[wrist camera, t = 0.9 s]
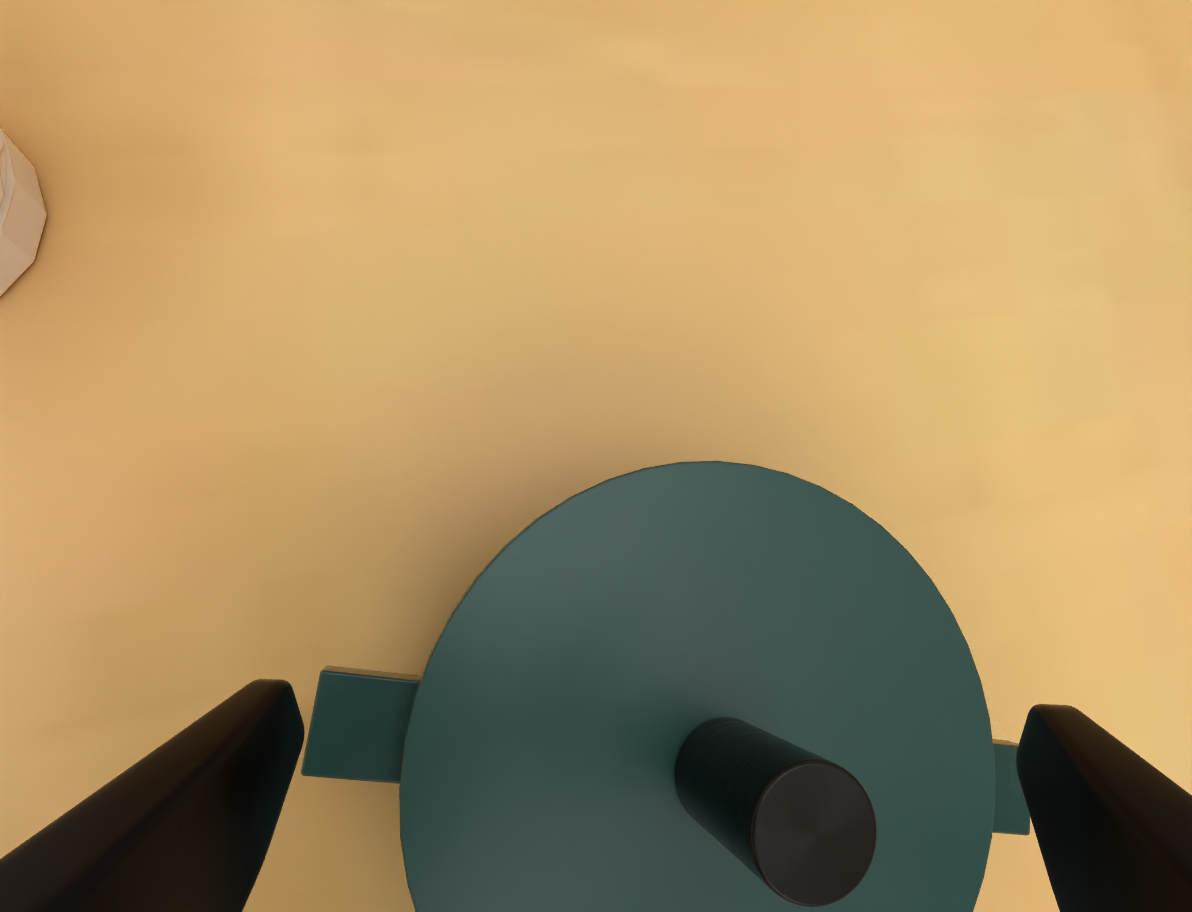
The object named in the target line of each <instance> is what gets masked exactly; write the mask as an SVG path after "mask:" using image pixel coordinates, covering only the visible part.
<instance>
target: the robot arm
mask: <svg viewBox="0 0 1192 912" xmlns="http://www.w3.org/2000/svg"><path fill="white" fill-rule="evenodd" d="M303 741H304V724H303V721H302V717H301V714H300V711H299V708H298V704H297V701H296V698H295V694H294V691H293V688H292V686H291V684H290V683H289V682H288V681H285V680H275V679H258V680H255V681H253V682H251V683H249V684H248V685H246V686H245V687H243V688H242V689H241V690H239V691H238V692H236V693H235V694H234V695H232V696H231V697H229V698H228V699H226V700H225V701H224V702H222V703H221V704H219V705H218V706H217V707H215V708H214V709H212V710H211V711H209V712H208V713H207V714H205V715H204V716H202V717H201V718H200V719H198V720H197V721H195V722H194V723H192V724H191V725H190V726H188V727H187V728H185V729H184V730H183V731H181V732H180V733H178V734H177V735H175V736H174V737H173V738H171V739H170V740H168V741H167V742H166V743H164V744H163V745H161V746H160V747H158V748H157V749H156V750H154V751H153V752H151V753H150V754H149V755H147V756H146V757H144V758H143V759H141V760H140V761H139V762H137V763H136V764H134V765H133V766H132V767H130V768H129V769H127V770H126V771H124V772H123V773H122V774H120V775H119V776H117V777H116V778H115V779H113V780H112V781H110V782H109V783H107V784H106V785H105V786H103V787H102V788H100V789H99V790H98V791H96V792H95V793H93V794H92V795H90V796H89V797H88V798H86V799H85V800H83V801H82V802H81V803H79V804H78V805H76V806H75V807H73V808H72V809H71V810H69V811H68V812H66V813H65V814H64V815H62V816H61V817H59V818H58V819H56V820H55V821H54V822H52V823H51V824H49V825H48V826H47V827H45V828H44V829H42V830H41V831H39V832H38V833H37V834H35V835H34V836H32V837H31V838H30V839H28V840H27V841H25V842H24V843H22V844H21V845H20V846H18V847H17V848H15V849H14V850H13V851H11V852H10V853H8V854H7V855H5V856H4V857H3V858H1V859H0V912H242V910H243V908H244V906H245V904H246V901H247V899H248V897H249V895H250V893H251V890H252V888H253V886H254V884H255V881H256V879H257V876H258V874H259V872H260V869H261V867H262V864H263V862H264V859H265V856H266V854H267V851H268V848H269V845H270V842H271V839H272V836H273V833H274V830H275V827H276V824H277V821H278V818H279V815H280V812H281V809H282V806H283V803H284V800H285V797H286V794H287V791H288V788H289V785H290V782H291V779H292V776H293V773H294V770H295V767H296V764H297V761H298V758H299V755H300V752H301V749H302V745H303ZM1016 768H1017V773H1018V777H1019V780H1020V784H1021V787H1022V790H1023V794H1024V797H1025V800H1026V803H1027V807H1028V810H1029V813H1030V817H1031V820H1032V823H1033V827H1034V830H1035V833H1036V837H1037V840H1038V843H1039V846H1040V850H1041V853H1042V856H1043V860H1044V863H1045V866H1046V870H1047V873H1048V876H1049V879H1050V883H1051V886H1052V889H1053V892H1054V895H1055V898H1056V901H1057V904H1058V907H1059V910H1060V912H1192V795H1190V794H1189V793H1188V792H1186V791H1185V790H1184V789H1182V788H1181V787H1180V786H1178V785H1177V784H1176V783H1174V782H1173V781H1172V780H1171V779H1169V778H1168V777H1167V776H1165V775H1164V774H1163V773H1161V772H1160V771H1159V770H1157V769H1156V768H1155V767H1153V766H1152V765H1151V764H1149V763H1148V762H1147V761H1145V760H1144V759H1143V758H1141V757H1140V756H1139V755H1137V754H1136V753H1135V752H1134V751H1132V750H1131V749H1130V748H1128V747H1127V746H1126V745H1124V744H1123V743H1122V742H1120V741H1119V740H1118V739H1116V738H1115V737H1114V736H1112V735H1111V734H1110V733H1108V732H1107V731H1106V730H1104V729H1103V728H1102V727H1100V726H1099V725H1098V724H1097V723H1095V722H1094V721H1093V720H1091V719H1090V718H1089V717H1087V716H1086V715H1085V714H1083V713H1082V712H1081V711H1079V710H1078V709H1076V708H1074V707H1072V706H1068V705H1049V704H1038V705H1035V706H1033V707H1032V708H1031V709H1030V711H1029V713H1028V716H1027V720H1026V723H1025V726H1024V730H1023V733H1022V736H1021V739H1020V743H1019V746H1018V749H1017V754H1016Z"/></svg>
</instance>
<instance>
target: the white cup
mask: <svg viewBox="0 0 1192 912" xmlns="http://www.w3.org/2000/svg"><path fill="white" fill-rule="evenodd" d="M46 217H47V213H46V209H45V205H44V202H43V198H42V194H41V190H40V187H39V183H38V179H37V175H36V172H35V169H34V167H33V166H32V164H31V163H30V162H29V161H28V160H27V158H26V157H25V156H24V155H23V154H22V153H21V151H20V150H19V149H18V148H17V147H16V146H15V145H14V143H13V142H12V141H11V140H10V139H9V138H8V136H7V135H6V134H5V133H4V132H3V131H2V129H1V128H0V296H1V295H2V294H3V293H4V292H5V291H6V290H7V289H8V288H9V287H10V286H11V285H12V284H13V283H14V282H15V281H16V280H17V279H18V277H19V276H20V275H21V274H22V273H23V272H24V271H25V270H26V269H27V268H28V267H29V266H30V265H31V264H32V263H33V262H34V260H35V256H36V253H37V249H38V245H39V242H40V238H41V235H42V231H43V228H44V224H45V221H46Z"/></svg>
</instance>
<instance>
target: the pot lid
mask: <svg viewBox="0 0 1192 912" xmlns="http://www.w3.org/2000/svg"><path fill="white" fill-rule="evenodd" d="M399 798H400V838H401V845H402V851H403V858H404V865H405V871H406V878H407V884H408V888H409V891H410V895H411V898H412V901H413V905H414V908H415V912H973V910H974V907H975V904H976V900H977V897H978V894H979V891H980V888H981V885H982V882H983V878H984V874H985V869H986V864H987V859H988V854H989V849H990V844H991V839H992V829H993V818H994V807H995V757H994V749H993V741H992V733H991V725H990V718H989V713H988V709H987V705H986V701H985V697H984V692H983V688H982V684H981V680H980V677H979V674H978V672H977V669H976V666H975V663H974V660H973V658H972V655H971V652H970V649H969V647H968V644H967V642H966V640H965V638H964V636H963V634H962V632H961V630H960V628H959V626H958V623H957V621H956V619H955V617H954V615H953V613H952V611H951V610H950V608H949V606H948V605H947V603H946V602H945V600H944V599H943V597H942V595H941V594H940V592H939V591H938V589H937V588H936V586H935V585H934V583H933V581H932V580H931V579H930V577H929V576H928V575H927V574H926V572H925V571H924V570H923V569H922V568H921V566H920V565H919V564H918V563H917V561H916V560H915V559H914V558H913V557H912V555H911V554H910V553H909V552H908V551H907V550H906V549H905V548H904V547H903V546H902V545H901V544H900V543H899V542H898V541H897V540H896V539H895V538H894V537H893V536H892V535H891V534H890V533H889V532H887V531H886V530H885V529H884V528H883V527H882V526H881V525H880V524H878V523H877V522H876V521H874V520H873V519H872V518H870V517H869V516H868V515H866V514H865V513H863V512H862V511H861V510H859V509H858V508H857V507H855V506H854V505H853V504H851V503H849V502H847V501H846V500H844V499H842V498H840V497H838V496H837V495H835V494H833V493H831V492H830V491H828V490H826V489H824V488H822V487H820V486H818V485H815V484H813V483H810V482H808V481H805V480H803V479H800V478H798V477H795V476H793V475H790V474H788V473H784V472H780V471H776V470H772V469H768V468H764V467H760V466H756V465H749V464H740V463H731V462H722V461H701V462H678V463H672V464H666V465H660V466H654V467H648V468H643V469H640V470H637V471H633V472H630V473H627V474H624V475H621V476H617V477H614V478H611V479H608V480H606V481H603V482H601V483H599V484H597V485H595V486H593V487H591V488H589V489H586V490H584V491H582V492H580V493H578V494H576V495H574V496H572V497H570V498H568V499H566V500H565V501H563V502H562V503H560V504H559V505H557V506H556V507H554V508H552V509H551V510H549V511H548V512H546V513H545V514H543V515H542V516H540V517H538V518H537V519H536V520H534V521H533V522H532V523H531V524H530V525H528V526H527V527H526V528H525V529H524V530H523V531H521V532H520V533H519V534H518V535H517V536H515V537H514V538H513V539H512V540H511V541H510V542H508V543H507V544H506V545H505V546H504V547H503V548H502V549H501V550H500V551H499V552H498V554H497V555H496V556H495V557H494V558H493V559H492V560H491V561H490V562H489V564H488V565H487V566H486V567H485V568H484V569H483V570H482V571H481V572H480V573H479V575H478V576H477V577H476V578H475V580H474V581H473V582H472V584H471V585H470V587H469V588H468V590H467V591H466V592H465V594H464V595H463V597H462V598H461V600H460V601H459V602H458V604H457V605H456V607H455V608H454V610H453V611H452V613H451V615H450V616H449V618H448V620H447V622H446V624H445V626H444V628H443V630H442V632H441V634H440V636H439V637H438V639H437V641H436V643H435V645H434V647H433V649H432V651H431V653H430V656H429V659H428V661H427V664H426V667H425V669H424V672H423V675H422V677H421V680H420V683H419V685H418V688H417V691H416V693H415V697H414V702H413V706H412V710H411V714H410V718H409V723H408V727H407V731H406V735H405V741H404V750H403V759H402V769H401V778H400V787H399Z"/></svg>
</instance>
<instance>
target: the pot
mask: <svg viewBox="0 0 1192 912" xmlns="http://www.w3.org/2000/svg"><path fill="white" fill-rule="evenodd" d="M421 677H422V676H417V675H408V674H399V673H390V672H381V671H372V670H363V669H354V668H345V667H336V666H326V667H325V668H324V669H323V670H322V671H321V672H320V677H319V682H318V687H317V692H316V697H315V702H314V707H313V713H312V718H311V723H310V728H309V733H308V738H307V744H306V749H305V754H304V759H303V764H302V769H301V775H303V776H313V777H325V778H337V779H349V780H361V781H373V782H385V783H397V784H400V778H401V769H402V759H403V750H404V741H405V735H406V731H407V727H408V723H409V718H410V714H411V710H412V706H413V702H414V697H415V693H416V691H417V688H418V685H419V683H420V680H421ZM992 741H993V749H994V757H995V807H994V818H993V829H992V833H1005V834H1017V835H1029V833H1030V813H1029V810H1028V807H1027V803H1026V800H1025V797H1024V794H1023V790H1022V787H1021V784H1020V780H1019V777H1018V773H1017V768H1016V754H1017V749H1018V746H1019V744H1017V743H1013V742H1010V741H1005V740H996V739H992Z"/></svg>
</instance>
